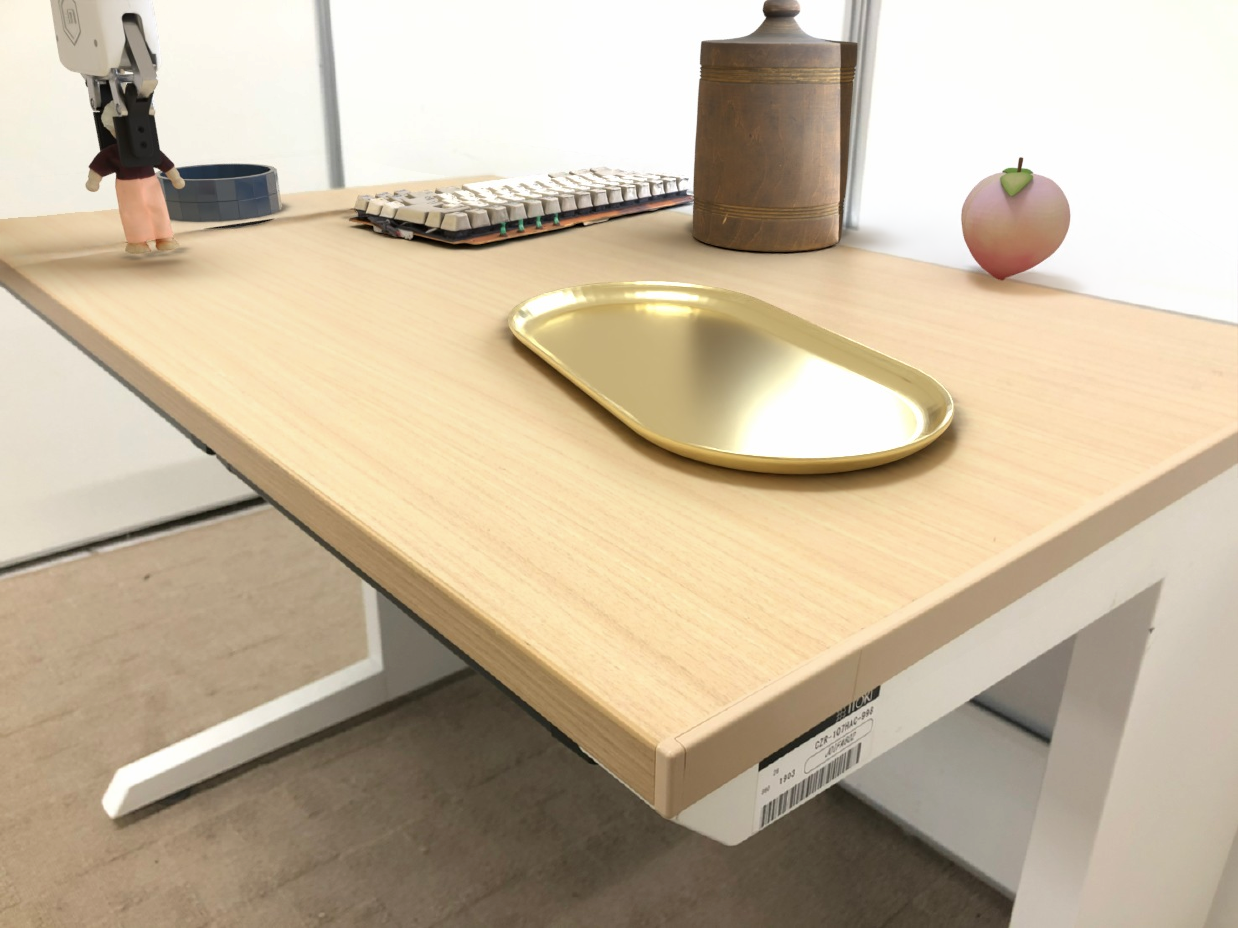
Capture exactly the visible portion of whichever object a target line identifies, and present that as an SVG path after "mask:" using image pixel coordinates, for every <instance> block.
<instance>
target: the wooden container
mask: <svg viewBox="0 0 1238 928" xmlns="http://www.w3.org/2000/svg"><path fill="white" fill-rule="evenodd" d="M800 12H801V5H800V3H799V1H798V0H765V1H764V2H763V6H762V13H763V16H764V17H765V19H764V20H763V21H762V23H761V24H760V25H759V26H758V27H757V28H756V29H755V30H754V31H752V32H751V33H750V34H748V35H745V36H740V37H734V38H725V39H707V40H702V41H701V42H700V52H699V53H700V54H699V65H700V67H699V69H700V71H699V73H700V74H699V77H700V78H699V79H698V89H697V90H698V91H697V108H696V110H697V111H696V113H697V114H696V129H695V141H694V163H693V166H694V167H693V184H692V185H693V186H692V187H693V188H692V189H693V190H692V191H693V192H692V195H693V198H694V199H693V202H692V204H693V205H692V233H691V234H692V236H693V237H694V238H695V239H696V240H698V241H700V242H701V243H705V244H707V245H711V246H715V247H719V248H724V249H730V250H736V251H737V250H738V251H749V252H764V253H765V252H766V253H767V252H768V253H793V252H794V253H795V252H805V251H808V252H809V251H815V250H820V249H824V248H828V247H831V246H834V245H836V244H838V243H839V242H840V241H841V239H842V231H843V223H844V214H845V213H844V210H845V209H844V208H845V207H844V205H845V199H846V192H847V184H848V183H847V182H848V169H849V156H850V138H851V136H850V135H851V119H852V108H853V107H852V106H853V94H854V80H855V75H856V70H857V69H856V67H857V63H858V49H859V47H858V45H859V44H858V42H855V41H844V40H831V39H825V38H824V39H823V38H818V37H814V36H812V35H810V34H808V33H806V31H804V29H802V27H801V26H800V25H799V22H797V21H796V19H795V17H797V16H798V15H799V14H800Z"/></svg>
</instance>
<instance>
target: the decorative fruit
mask: <svg viewBox="0 0 1238 928" xmlns="http://www.w3.org/2000/svg"><path fill="white" fill-rule="evenodd" d="M1023 163H1024V157H1023V156H1021V157H1020V156H1019V157H1018V163H1017V167H1007V168H1005V169H1003V170H1002V171H1001V172H997V173H993V174H992V175H988V176H986V177H984V178H983V179H982V180H980V181H979V182H978V183H977V184H976V185H975V186H974V187H973V188H972V189H971V190H970V192H969V193H968V195H967V196H966V198H965V200H964V202H963V203H962V208H961V214H960V215H961V216H960V221H961V230H962V236H963V240H964V243H965V244H966V246H967V248H968V251H969V253H970V254H971V256H972V258H973V259H974V261H975V262H976V263H977V264H978V265H979V266H980V267H981V269H983V270H984V271H986V272H987V273H988V274H989V275H990V276H991V277H993V278H995V279H997V280H999V281H1004V280H1005V279H1007V278H1010V277H1012V276H1013V277H1014V276H1015V275H1019V274H1021V273H1024V272H1026V271H1029V270H1031V269H1033V268H1035V267H1036V266H1038V265H1040V264H1042V263H1043V262H1044V261H1045V260H1047V259H1049V258H1050V257H1051V256H1052V255H1053V254H1054V253H1055V252H1056V251H1058V250H1059V248H1060V247H1061V245H1062V244H1063V243H1064V241H1065V238H1066V237H1067V234H1068V231H1069V228H1070V226H1071V225H1070V224H1071V207H1070V204H1069V201H1068V199H1067V198H1068V197H1067V196H1066V194H1065V193H1064V191H1063V190H1062V188H1061V187H1060V186H1059V185H1058V183H1056V182H1055V181H1054V180H1053V179H1051V178H1049V177H1047V176H1044V175H1040V174H1038V173H1037V174H1036V173H1034V172H1033V170H1031V169H1029V168H1025V167H1023Z"/></svg>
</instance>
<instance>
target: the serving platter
mask: <svg viewBox="0 0 1238 928" xmlns="http://www.w3.org/2000/svg"><path fill="white" fill-rule="evenodd" d="M507 322H508V327H509V329H510V331H511V333H512V334H513V335H514V337H515V338H516V339H517V340H518V341H519V342H520V343H521V344H523V345H524V346H525V347H526V348H528V349H529V350H531V352H532V353H534V354H536V356H538V357H539V358H540V359H542V360H543V361H544V362H546V363H547V365H550V367H552V368H553V369H555V370H556V371H557V372H558V373H559V374H561V375H562V376H563V377H565V378H566V379H567V380H569V381H570V383H573V384H574V385H575V386H576V387H577V388H578V389H580V390H581V391H583V392H584V393H585V394H586V395H588V396H589V397H590V398H592V400H594V401H595V402H597V403H598V404H599V405H600V406H602V407H603V408H604V409H606V410H607V411H608V412H609V413H610V414H612V415H613V416H614V417H616V419H618V420H620V421H621V422H622V423H623V424H625V426H627V427H628V428H630V429H631V430H632V431H634V433H636V434H637V435H639V436H641V438H643V439H645V440H647V441H648V442H650V443H652V444H654V445H656V446H658V447H659V448H662V449H664V450H666V451H669V452H671V453H674V454H676V455H679V456H682V457H684V458H688V459H690V460H694V461H696V462H701V463H705V464H707V465H708V464H709V465H713V466H718V467H721V468H728V469H732V470H737V471H738V470H739V471H745V472H755V473H763V474H764V473H765V474H774V475H775V474H777V475H824V474H837V473H845V472H852V471H859V470H860V471H861V470H865V469H869V468H874V467H878V466H883V465H887V464H890V463H892V462H895V461H898V460H902V459H905V458H906V457H908V456H911V455H913V454H915V453H917V452H919V451H920V450H922V449H924V448H926V447H928V446H929V445H930V444H932V443H933V442H934V441H936V440H937V439H938V438H939V437H941V436H942V434H943V433H944V432H945V431H946V430H947V429H948V428H949V426H950V424H951V423H952V421H953V418H954V415H955V403H954V399H953V397H952V395H951V393H950V392H949V391H948V390H947V388H946V387H945V386H944V385H943V384H942V383H941V382H940V381H938V380H937V379H936V378H934V377H933V376H931V375H930V374H928V373H926V372H924V371H922V370H921V369H919V368H916V367H914V366H913V365H910V364H908V363H905V362H904V361H901V360H899V359H896V358H894V357H893V356H890V355H887V354H885V353H883V352H880V351H879V350H876V349H874V348H871V347H869V346H867V345H864V344H863V343H860V342H858V341H856V340H853V339H851V338H849V337H846V336H844V335H842V334H839V333H837V332H835V331H833V330H831V329H828V328H825V327H823V326H821V325H818V324H817V323H814V322H812V321H811V320H810V321H809V320H808V319H805V318H803V317H800V316H798V315H796V314H793V313H792V312H789V311H787V310H784V309H782V308H780V307H778V306H776V305H773V304H771V303H769V302H766V301H764V300H762V299H760V298H757V297H754V296H752V295H749V294H746V293H742V292H739V291H735V290H731V289H726V288H721V287H716V286H710V285H703V284H695V283H688V282H687V283H686V282H674V281H673V282H672V281H653V280H651V281H649V280H647V281H646V280H645V281H644V280H638V281H637V280H634V281H633V280H631V281H610V282H598V283H589V284H588V283H587V284H580V285H574V286H568V287H563V288H558V289H554V290H549V291H546V292H543V293H540V294H537V295H534V296H532V297H529V298H527V299H525V300H524V301H521V302H520V303H519V304H516V306H515V307H514V308H512V310H511V311H510V312H509V314H508V317H507Z"/></svg>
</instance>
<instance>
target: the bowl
mask: <svg viewBox="0 0 1238 928" xmlns="http://www.w3.org/2000/svg"><path fill="white" fill-rule="evenodd" d="M175 168H176V169H177V171H178V172H179V175H180V177H181V178H182V179H183V180H184V181H185V186H184V187H183V188H181V189H177V188H175V187H174V186H173V184H172V181H171V180H170V179H168V177H167V175H166V174H165V173H163V172H162V171H160V170H158V171H155V175H156V177H157V178H158V180H159V182H160V185H161V189H162V192H163V195H164V199H165V202H166V206H167V210H168V214H169V218H170V221H178V222H191V223H192V222H196V223H197V222H198V223H206V222H207V223H209V222H229V221H230V222H231V221H240V220H248V219H255V218H260V217H265V216H270V215H273V214H275V213H278V212H280V211H281V210H282V208H283V205H282V197H281V190H280V184H279V183H280V182H279V176H278V175H279V174H278V169H277V168H276V167H274V166H272V165H268V164H259V163H239V162H238V163H237V162H236V163H232V162H231V163H209V164H195V165H194V164H193V165H184V166H178V167H175ZM273 220H275V218H274V217H273V218H268V219H262V220H261V219H259V220H255V221H254V220H253V221H247V222H239V223H233V224H226V225H218V226H212V227H205V228H203V229H204V230H208V229H209V230H216V229H233V228H241V227H243V228H244V227H249V226H255V225H260V224H264V223H268V222H270V221H273Z"/></svg>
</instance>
